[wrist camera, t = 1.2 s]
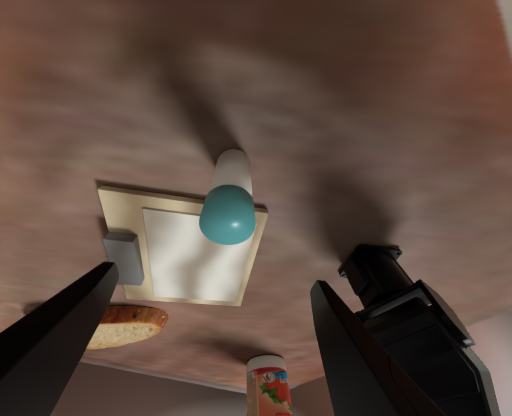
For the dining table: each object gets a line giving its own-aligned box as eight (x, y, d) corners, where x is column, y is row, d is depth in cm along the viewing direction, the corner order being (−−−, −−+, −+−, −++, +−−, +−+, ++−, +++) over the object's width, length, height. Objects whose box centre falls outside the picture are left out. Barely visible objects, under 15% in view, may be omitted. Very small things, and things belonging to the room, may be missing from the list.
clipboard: (267, 209, 23) (269, 220, 21) (240, 301, 33) (239, 313, 32) (102, 185, 20) (89, 195, 18) (129, 293, 31) (122, 306, 29)
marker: (254, 151, 19) (261, 206, 12) (247, 183, 21) (249, 247, 13) (217, 144, 18) (200, 197, 11) (214, 178, 20) (197, 241, 13)
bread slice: (177, 312, 35) (171, 336, 32) (129, 347, 42) (120, 369, 39) (62, 269, 27) (39, 294, 24) (25, 320, 34) (4, 345, 31)
